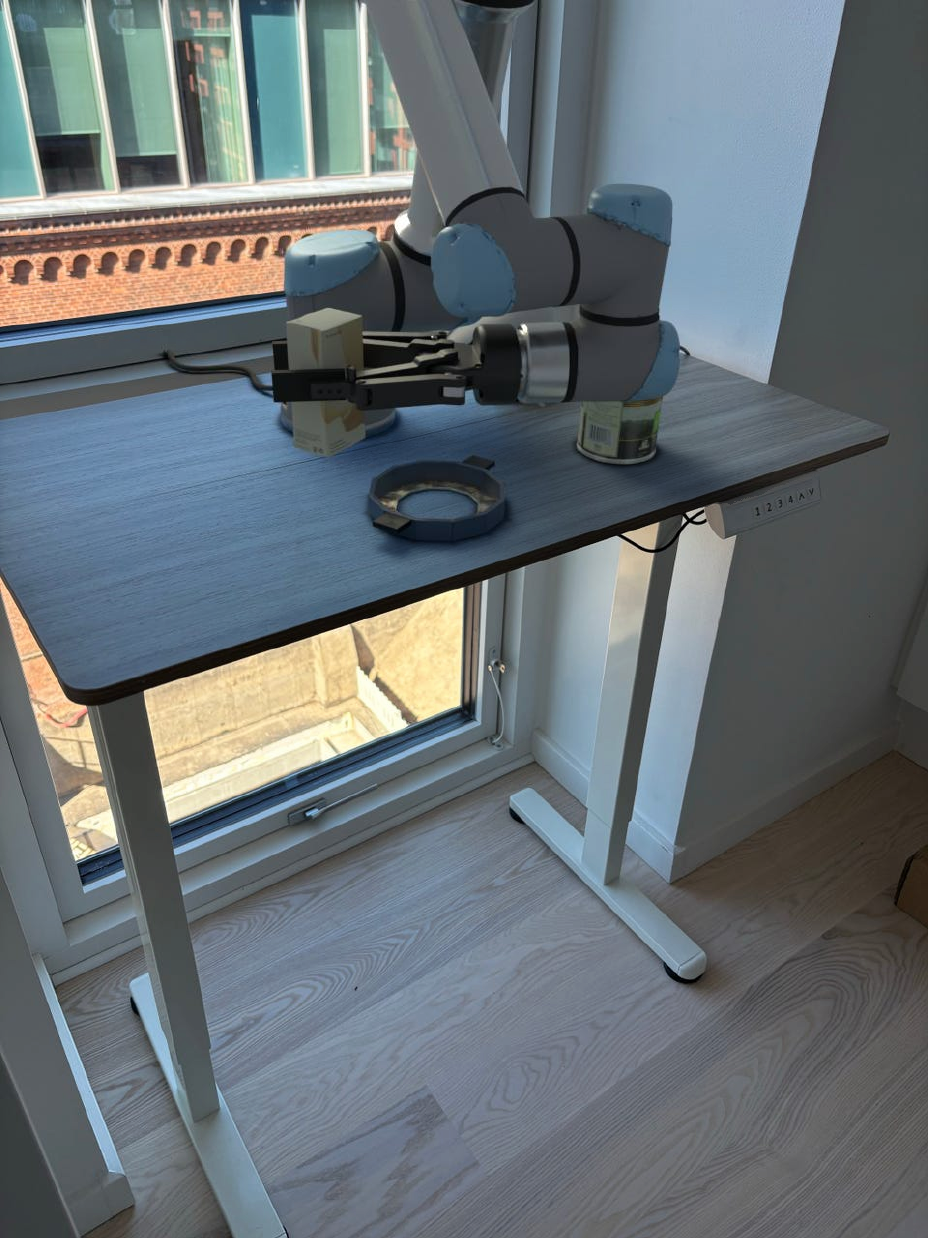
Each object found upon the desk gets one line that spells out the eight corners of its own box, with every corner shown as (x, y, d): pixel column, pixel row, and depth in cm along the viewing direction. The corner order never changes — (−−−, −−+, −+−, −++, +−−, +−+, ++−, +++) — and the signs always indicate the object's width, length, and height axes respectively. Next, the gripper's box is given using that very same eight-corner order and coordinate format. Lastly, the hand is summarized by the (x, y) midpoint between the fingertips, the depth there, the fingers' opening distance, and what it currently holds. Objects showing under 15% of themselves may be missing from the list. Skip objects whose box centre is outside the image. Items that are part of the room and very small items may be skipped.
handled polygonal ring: (328, 525, 106) (327, 505, 105) (430, 460, 121) (430, 442, 120) (445, 565, 100) (445, 545, 99) (538, 491, 114) (539, 473, 113)
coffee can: (657, 436, 129) (672, 331, 121) (654, 469, 120) (670, 358, 112) (580, 428, 130) (590, 323, 122) (571, 460, 122) (582, 350, 114)
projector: (410, 322, 166) (410, 232, 158) (541, 322, 168) (548, 234, 160) (415, 367, 148) (415, 268, 140) (563, 366, 150) (571, 269, 142)
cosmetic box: (328, 460, 91) (320, 331, 84) (292, 449, 93) (282, 322, 86) (368, 437, 96) (364, 313, 89) (334, 427, 98) (327, 304, 91)
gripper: (535, 443, 87) (275, 453, 83) (495, 366, 103) (277, 372, 100) (541, 361, 82) (267, 369, 79) (498, 294, 99) (270, 298, 96)
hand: (273, 370), depth 89 cm, fingers closed on cosmetic box, 7 cm apart
